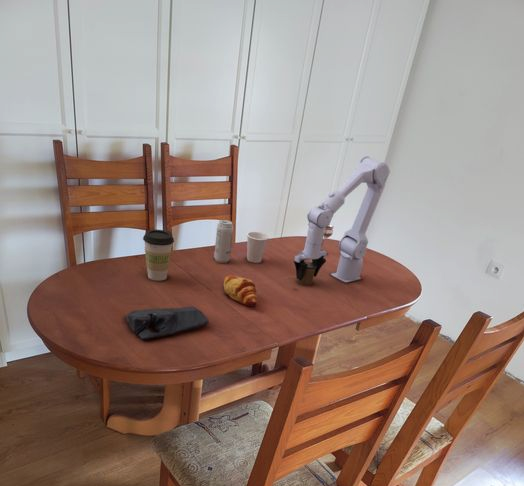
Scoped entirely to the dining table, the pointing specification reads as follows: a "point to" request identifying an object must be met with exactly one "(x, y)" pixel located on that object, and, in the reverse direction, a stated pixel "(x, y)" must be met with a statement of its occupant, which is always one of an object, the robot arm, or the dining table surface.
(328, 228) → the wineglass
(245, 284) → the croissant
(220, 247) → the energy drink can
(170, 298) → the dining table surface
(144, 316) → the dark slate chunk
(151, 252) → the coffee cup
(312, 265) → the tea tin
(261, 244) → the dixie cup
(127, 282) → the dining table surface
